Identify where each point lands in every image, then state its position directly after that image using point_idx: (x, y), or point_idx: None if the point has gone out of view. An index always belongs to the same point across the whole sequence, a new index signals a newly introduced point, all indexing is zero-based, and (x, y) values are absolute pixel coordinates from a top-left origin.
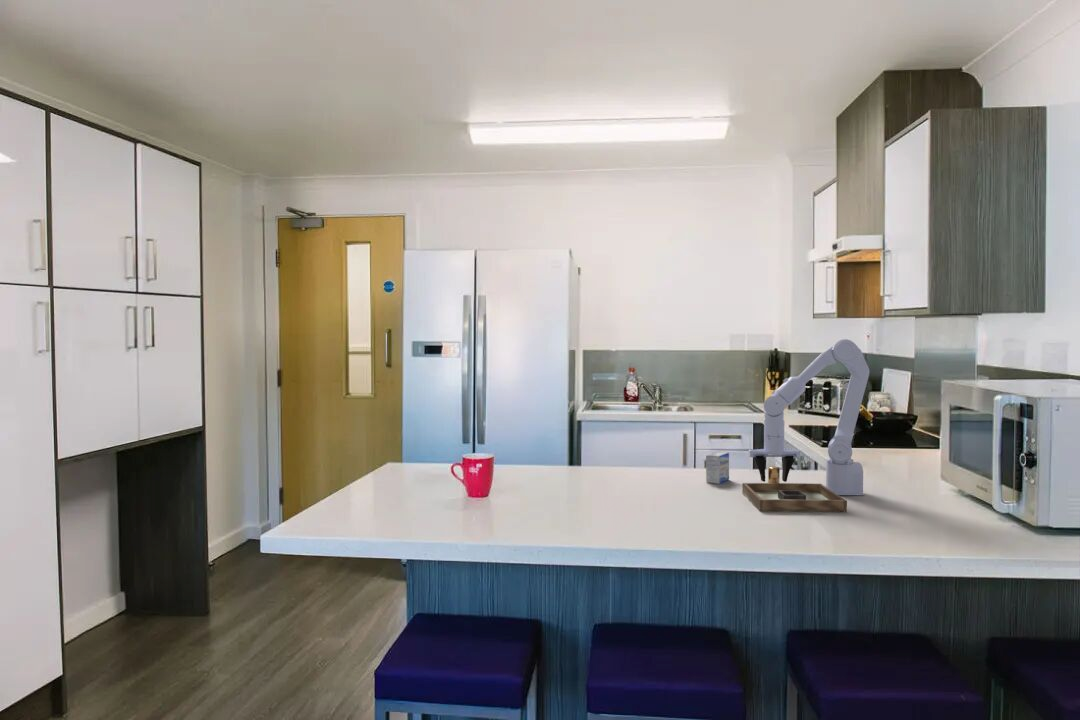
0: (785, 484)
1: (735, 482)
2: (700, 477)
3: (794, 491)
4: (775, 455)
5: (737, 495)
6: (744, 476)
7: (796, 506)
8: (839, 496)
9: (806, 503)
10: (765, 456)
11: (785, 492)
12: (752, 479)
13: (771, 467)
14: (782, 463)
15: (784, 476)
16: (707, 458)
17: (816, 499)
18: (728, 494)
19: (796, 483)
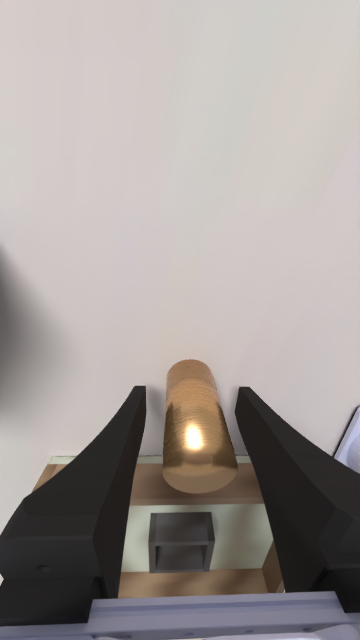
0: (198, 501)
1: (22, 283)
2: None
3: (197, 542)
4: (229, 633)
5: (35, 475)
6: (86, 69)
7: (162, 584)
8: (283, 586)
9: (184, 595)
10: (118, 616)
11: (169, 538)
12: (128, 196)
13: (183, 470)
14: (291, 464)
15: (243, 434)
16: None
17: (249, 521)
18: (4, 467)
19: (244, 498)
